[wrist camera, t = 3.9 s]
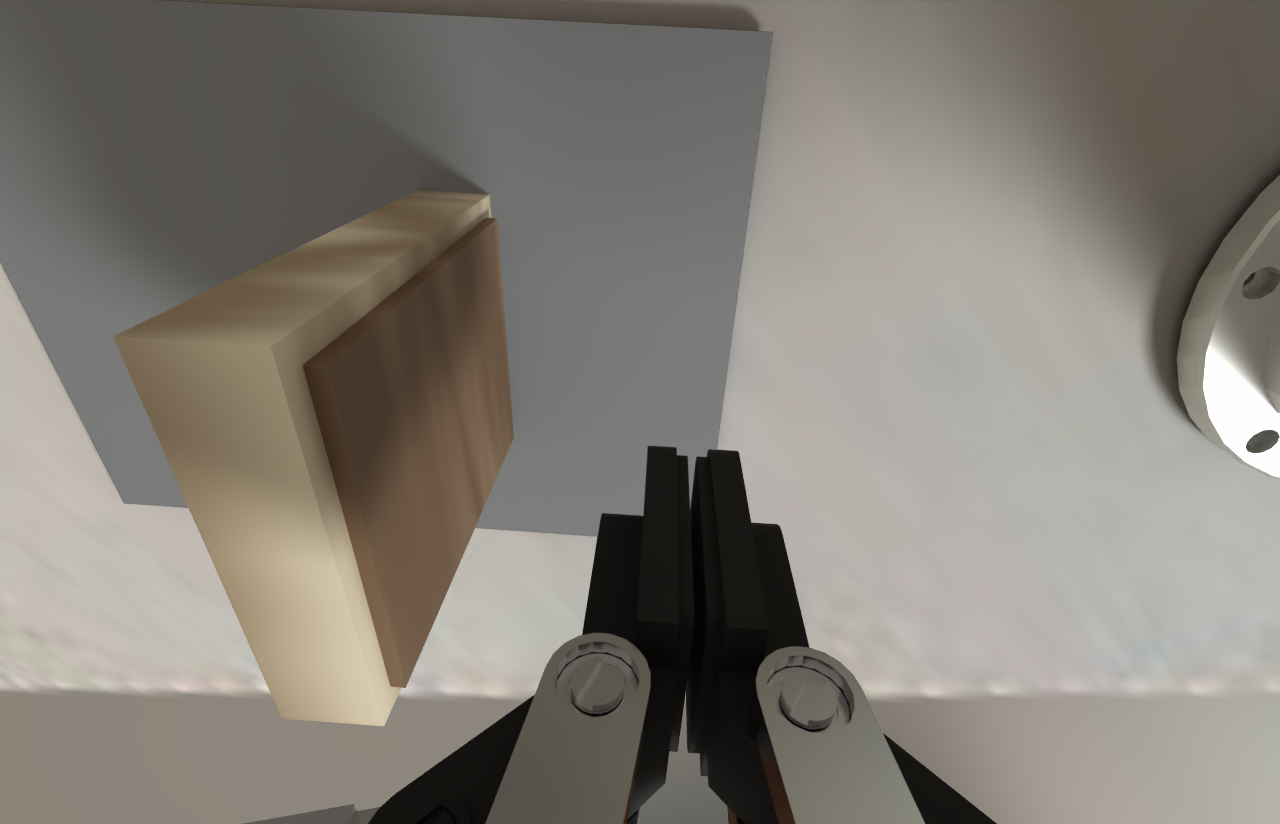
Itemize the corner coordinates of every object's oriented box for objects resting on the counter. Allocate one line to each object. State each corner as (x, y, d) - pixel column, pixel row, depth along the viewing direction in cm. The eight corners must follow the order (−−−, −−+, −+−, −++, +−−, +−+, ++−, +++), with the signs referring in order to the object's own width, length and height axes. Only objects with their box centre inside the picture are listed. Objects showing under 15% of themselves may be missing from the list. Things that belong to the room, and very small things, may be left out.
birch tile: (500, 195, 16) (294, 348, 7) (518, 442, 20) (399, 727, 11) (416, 190, 16) (112, 336, 7) (450, 437, 20) (282, 717, 11)
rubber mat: (770, 32, 14) (773, 31, 14) (703, 536, 22) (703, 544, 22) (-123, -14, 15) (-143, -16, 14) (132, 496, 23) (123, 503, 22)
